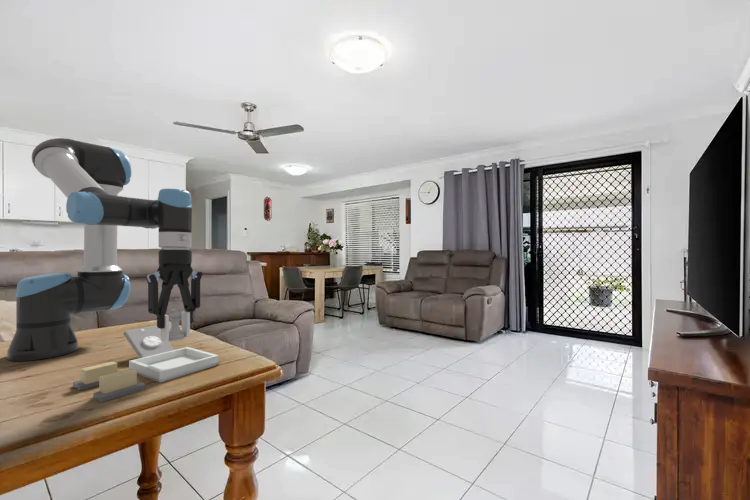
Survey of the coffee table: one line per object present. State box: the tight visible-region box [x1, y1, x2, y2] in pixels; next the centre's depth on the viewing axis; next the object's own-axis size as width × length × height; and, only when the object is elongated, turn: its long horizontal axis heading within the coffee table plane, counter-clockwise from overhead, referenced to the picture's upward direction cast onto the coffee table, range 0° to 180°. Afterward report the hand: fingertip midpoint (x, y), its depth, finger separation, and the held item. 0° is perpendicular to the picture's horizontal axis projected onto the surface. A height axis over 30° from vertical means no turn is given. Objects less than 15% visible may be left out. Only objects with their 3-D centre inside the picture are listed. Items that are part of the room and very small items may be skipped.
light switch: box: [123, 325, 175, 359], centre depth 99 cm, size 8×6×14 cm
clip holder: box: [72, 361, 146, 403], centre depth 77 cm, size 15×8×4 cm, turn 58°
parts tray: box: [128, 346, 220, 384], centre depth 90 cm, size 15×15×2 cm
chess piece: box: [168, 308, 186, 343], centre depth 90 cm, size 5×5×8 cm
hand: (175, 338), depth 90 cm, fingers closed on chess piece, 5 cm apart
